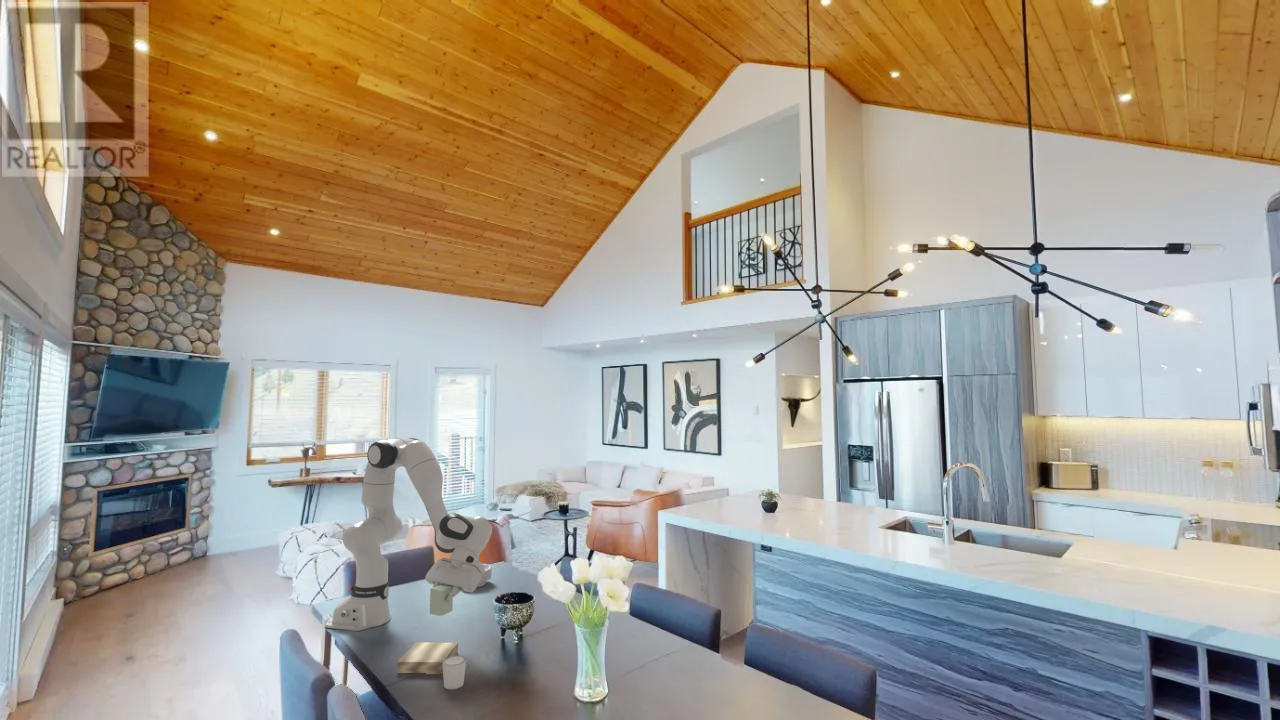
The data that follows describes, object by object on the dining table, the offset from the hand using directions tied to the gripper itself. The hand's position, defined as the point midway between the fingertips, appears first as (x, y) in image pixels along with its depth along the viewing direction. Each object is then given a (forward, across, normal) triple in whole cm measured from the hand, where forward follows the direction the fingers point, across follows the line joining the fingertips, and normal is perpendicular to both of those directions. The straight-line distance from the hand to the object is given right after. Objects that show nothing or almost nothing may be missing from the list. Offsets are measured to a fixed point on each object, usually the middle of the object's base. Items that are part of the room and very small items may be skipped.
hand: (440, 599), depth 184 cm
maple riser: (+16, -1, +11) cm, 20 cm away
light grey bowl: (-30, -41, +57) cm, 77 cm away
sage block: (+3, 0, +4) cm, 4 cm away
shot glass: (+21, +17, +7) cm, 27 cm away
